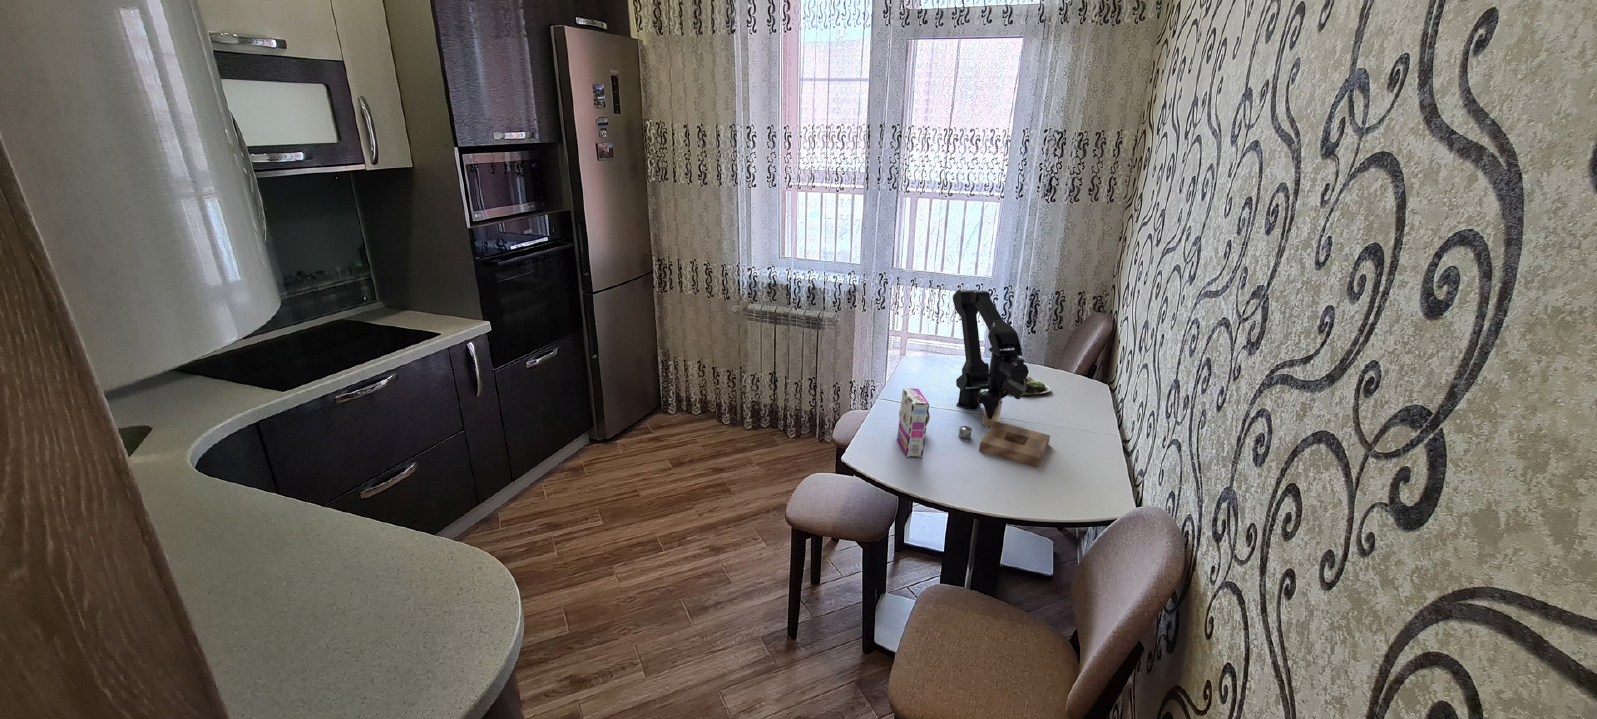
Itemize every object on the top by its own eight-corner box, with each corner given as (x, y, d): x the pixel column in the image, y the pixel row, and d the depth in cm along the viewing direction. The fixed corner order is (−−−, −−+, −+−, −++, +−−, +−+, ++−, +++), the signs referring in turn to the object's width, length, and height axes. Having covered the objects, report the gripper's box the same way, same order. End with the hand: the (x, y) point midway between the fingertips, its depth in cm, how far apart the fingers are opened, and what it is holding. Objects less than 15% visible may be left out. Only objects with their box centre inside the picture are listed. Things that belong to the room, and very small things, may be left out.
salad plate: (983, 378, 229) (985, 366, 228) (1026, 376, 233) (1028, 364, 232) (1011, 399, 212) (1013, 386, 210) (1056, 396, 216) (1059, 384, 214)
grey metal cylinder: (956, 438, 182) (958, 429, 181) (960, 433, 185) (961, 424, 184) (968, 441, 181) (970, 432, 180) (972, 436, 184) (973, 427, 182)
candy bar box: (923, 458, 170) (930, 404, 164) (906, 458, 170) (911, 404, 164) (913, 439, 181) (919, 387, 175) (896, 439, 180) (901, 387, 174)
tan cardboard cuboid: (982, 424, 192) (985, 403, 189) (985, 419, 195) (989, 399, 192) (995, 427, 190) (998, 407, 187) (998, 422, 193) (1002, 402, 191)
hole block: (978, 450, 175) (980, 441, 174) (993, 430, 188) (995, 421, 187) (1037, 467, 168) (1039, 457, 167) (1048, 444, 180) (1050, 435, 179)
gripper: (1019, 385, 175) (1010, 434, 180) (1033, 366, 190) (1024, 412, 195) (980, 376, 180) (973, 424, 185) (996, 358, 195) (989, 403, 200)
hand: (991, 416), depth 191 cm, fingers closed on tan cardboard cuboid, 4 cm apart
